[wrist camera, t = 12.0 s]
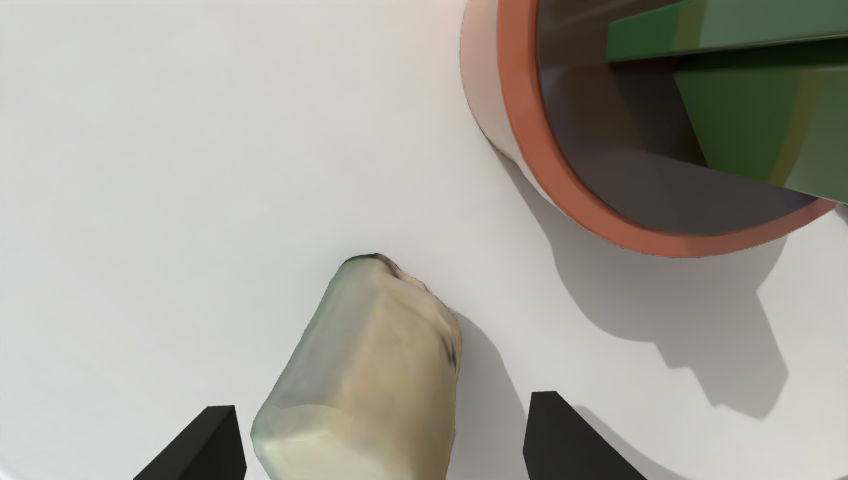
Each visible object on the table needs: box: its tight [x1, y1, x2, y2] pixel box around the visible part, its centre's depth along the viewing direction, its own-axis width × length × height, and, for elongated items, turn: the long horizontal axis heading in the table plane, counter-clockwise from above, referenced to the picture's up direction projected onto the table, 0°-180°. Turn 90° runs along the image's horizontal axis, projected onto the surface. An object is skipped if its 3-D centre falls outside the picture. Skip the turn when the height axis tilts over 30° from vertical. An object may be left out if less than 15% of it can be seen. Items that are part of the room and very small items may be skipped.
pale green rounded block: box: [250, 253, 462, 480], centre depth 11 cm, size 6×5×8 cm
